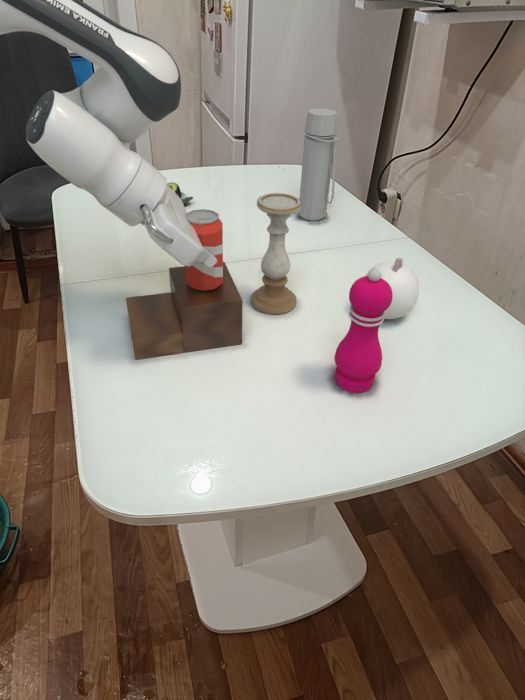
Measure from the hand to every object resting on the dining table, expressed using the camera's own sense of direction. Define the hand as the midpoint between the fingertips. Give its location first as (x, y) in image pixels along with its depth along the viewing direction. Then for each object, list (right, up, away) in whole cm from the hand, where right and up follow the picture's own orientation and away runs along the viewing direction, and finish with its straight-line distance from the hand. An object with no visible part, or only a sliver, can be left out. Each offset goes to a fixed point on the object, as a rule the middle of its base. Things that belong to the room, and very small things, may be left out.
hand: (207, 249), depth 82 cm
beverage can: (-1, -5, +4) cm, 6 cm away
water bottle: (+22, +18, +48) cm, 56 cm away
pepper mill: (+24, -21, 0) cm, 32 cm away
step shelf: (-5, -13, +8) cm, 16 cm away
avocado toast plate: (-19, +21, +51) cm, 58 cm away
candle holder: (+11, -7, +17) cm, 21 cm away
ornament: (+32, -9, +15) cm, 37 cm away
